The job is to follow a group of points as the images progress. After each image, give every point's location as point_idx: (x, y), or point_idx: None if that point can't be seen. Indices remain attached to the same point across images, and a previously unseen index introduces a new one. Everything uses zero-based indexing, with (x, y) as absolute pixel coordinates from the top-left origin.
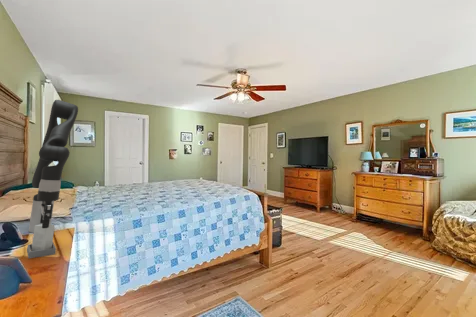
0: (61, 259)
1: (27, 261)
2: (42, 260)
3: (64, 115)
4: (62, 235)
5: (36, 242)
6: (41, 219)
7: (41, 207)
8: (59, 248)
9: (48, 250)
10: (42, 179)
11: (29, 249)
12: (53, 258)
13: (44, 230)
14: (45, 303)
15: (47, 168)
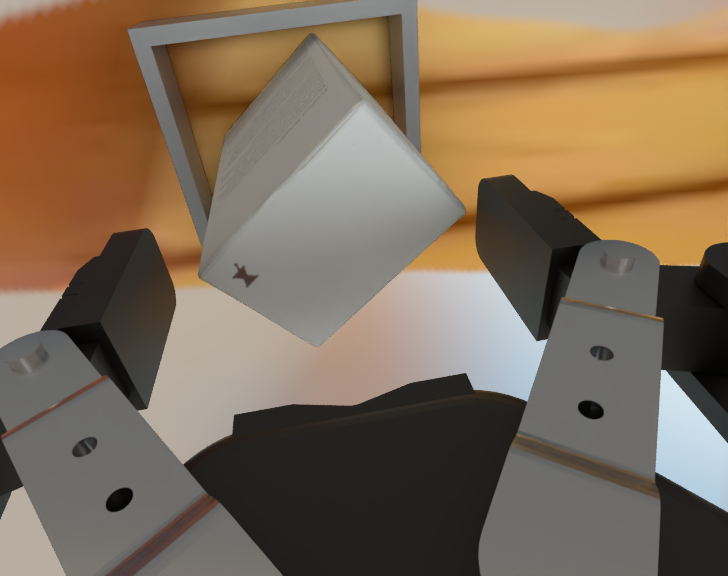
0: (69, 267)
1: (53, 20)
2: (64, 142)
3: None
4: (670, 239)
5: (280, 95)
6: (508, 214)
7: (221, 562)
8: None
9: (185, 191)
10: None
11: (231, 24)
12: (103, 216)
13: (218, 227)
14: None
15: None
